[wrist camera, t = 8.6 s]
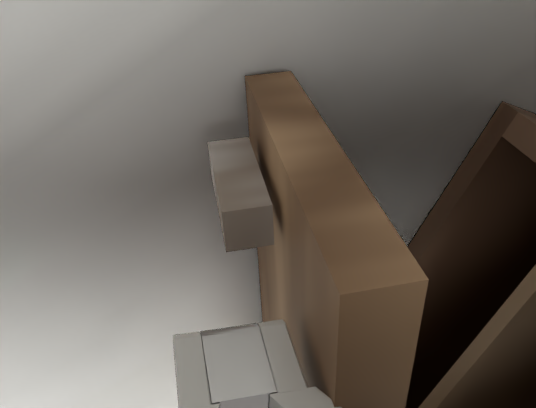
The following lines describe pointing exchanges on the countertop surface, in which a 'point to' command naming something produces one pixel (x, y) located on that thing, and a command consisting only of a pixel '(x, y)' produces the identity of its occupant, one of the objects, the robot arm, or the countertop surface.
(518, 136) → the cabinet
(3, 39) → the countertop surface
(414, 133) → the countertop surface
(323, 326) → the door
